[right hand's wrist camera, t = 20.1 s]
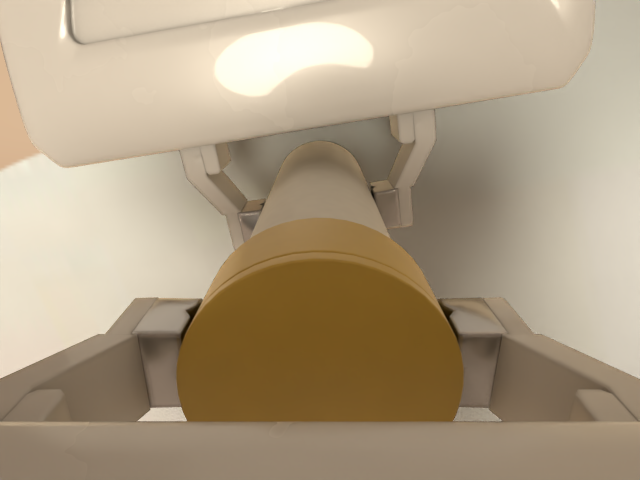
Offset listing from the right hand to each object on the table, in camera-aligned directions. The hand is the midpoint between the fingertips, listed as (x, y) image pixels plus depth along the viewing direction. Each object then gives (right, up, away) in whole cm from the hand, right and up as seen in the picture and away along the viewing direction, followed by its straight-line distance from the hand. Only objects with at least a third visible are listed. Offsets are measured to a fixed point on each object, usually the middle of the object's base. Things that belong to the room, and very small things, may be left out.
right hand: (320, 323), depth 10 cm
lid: (0, -1, -2) cm, 2 cm away
